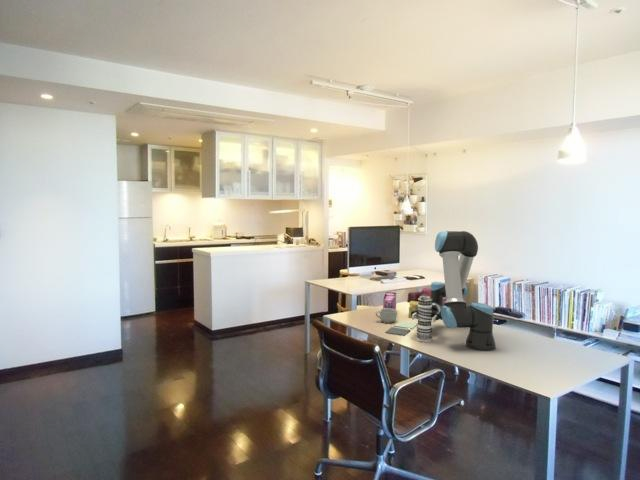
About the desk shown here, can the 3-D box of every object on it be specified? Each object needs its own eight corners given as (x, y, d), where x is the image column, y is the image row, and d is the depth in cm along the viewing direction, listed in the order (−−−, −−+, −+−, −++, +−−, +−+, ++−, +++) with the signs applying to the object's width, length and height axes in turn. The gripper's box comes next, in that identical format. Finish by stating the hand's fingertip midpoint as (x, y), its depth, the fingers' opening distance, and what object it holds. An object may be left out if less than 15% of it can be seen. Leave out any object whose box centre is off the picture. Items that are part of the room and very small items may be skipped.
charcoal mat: (410, 330, 263) (410, 329, 263) (404, 335, 252) (404, 334, 252) (391, 328, 268) (391, 327, 268) (385, 333, 258) (385, 332, 258)
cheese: (408, 318, 293) (408, 303, 292) (409, 314, 303) (410, 300, 302) (424, 319, 290) (424, 304, 289) (424, 315, 300) (425, 301, 299)
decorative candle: (435, 341, 243) (436, 297, 241) (421, 342, 240) (422, 298, 238) (427, 336, 251) (428, 294, 249) (413, 337, 249) (414, 295, 247)
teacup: (396, 320, 287) (396, 308, 287) (397, 324, 277) (397, 312, 276) (375, 319, 289) (375, 307, 288) (375, 323, 278) (375, 311, 277)
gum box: (394, 319, 290) (394, 299, 289) (382, 318, 292) (382, 298, 291) (396, 310, 313) (396, 292, 312) (385, 310, 315) (385, 291, 314)
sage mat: (417, 324, 277) (417, 323, 277) (412, 329, 266) (412, 328, 266) (399, 322, 282) (399, 321, 282) (393, 326, 272) (393, 325, 272)
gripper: (452, 318, 255) (444, 328, 236) (413, 314, 266) (402, 322, 247) (452, 306, 254) (444, 314, 235) (413, 302, 266) (402, 309, 246)
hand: (422, 318), depth 241 cm, fingers open, 11 cm apart
